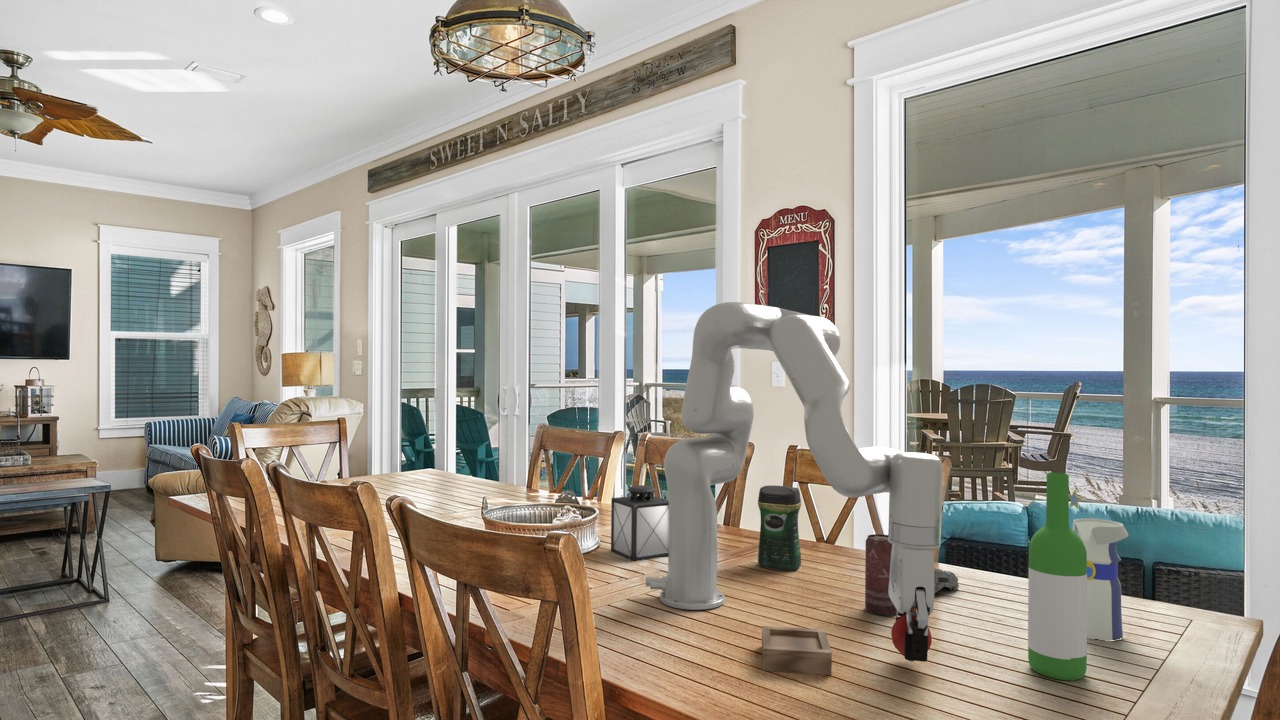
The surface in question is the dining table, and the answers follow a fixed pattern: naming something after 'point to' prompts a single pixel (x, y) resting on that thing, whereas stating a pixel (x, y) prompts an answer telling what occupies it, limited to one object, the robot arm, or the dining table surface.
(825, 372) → the robot arm
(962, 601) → the dining table surface
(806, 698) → the dining table surface
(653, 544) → the lantern
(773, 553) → the coffee jar
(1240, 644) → the dining table surface
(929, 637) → the onion
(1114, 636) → the white spray bottle
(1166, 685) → the dining table surface
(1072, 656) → the wine bottle
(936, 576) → the fossilized seashell
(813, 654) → the wooden square tray
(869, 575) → the can
